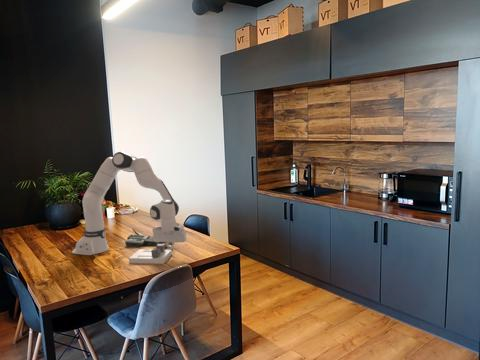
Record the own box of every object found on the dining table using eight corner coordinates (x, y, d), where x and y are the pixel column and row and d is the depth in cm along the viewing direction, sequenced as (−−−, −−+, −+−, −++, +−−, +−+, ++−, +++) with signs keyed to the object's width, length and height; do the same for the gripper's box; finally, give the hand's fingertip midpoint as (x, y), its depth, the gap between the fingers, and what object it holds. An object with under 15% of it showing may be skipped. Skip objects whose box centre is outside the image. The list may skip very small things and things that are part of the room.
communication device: (159, 247, 245) (158, 235, 243) (124, 247, 248) (123, 234, 247) (165, 241, 257) (164, 229, 255) (132, 241, 260) (131, 229, 259)
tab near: (151, 256, 218) (151, 250, 217) (154, 254, 221) (153, 248, 221) (158, 256, 217) (157, 250, 216) (160, 254, 221) (160, 248, 220)
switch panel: (129, 262, 219) (128, 257, 218) (139, 253, 233) (139, 249, 233) (163, 263, 215) (163, 258, 215) (172, 254, 230) (171, 249, 230)
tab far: (156, 251, 225) (156, 245, 225) (159, 249, 229) (158, 243, 228) (163, 252, 225) (162, 245, 224) (165, 250, 228) (164, 243, 228)
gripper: (150, 228, 222) (152, 250, 224) (183, 228, 219) (184, 250, 221) (154, 225, 228) (156, 246, 230) (186, 225, 225) (187, 247, 227)
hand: (170, 248), depth 226 cm, fingers closed
